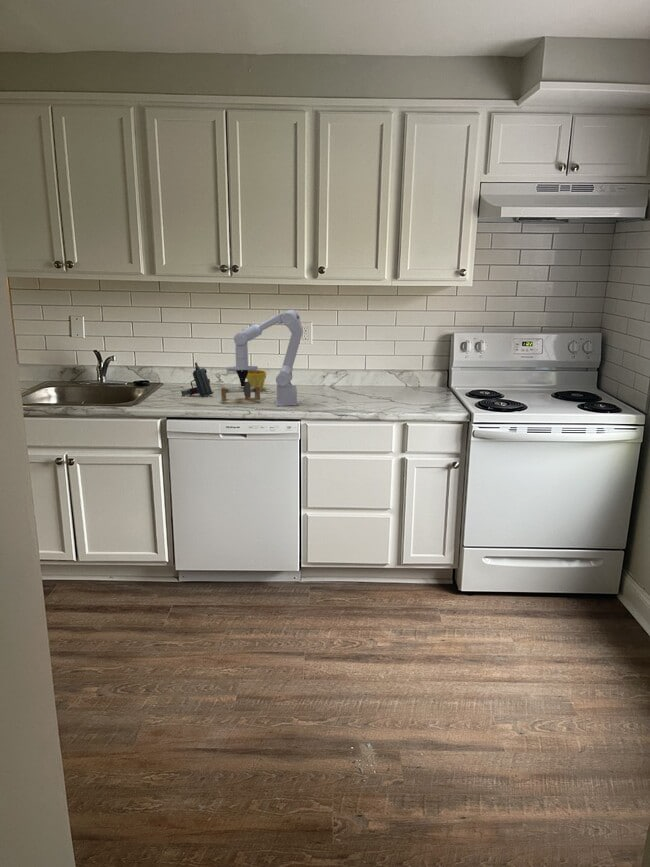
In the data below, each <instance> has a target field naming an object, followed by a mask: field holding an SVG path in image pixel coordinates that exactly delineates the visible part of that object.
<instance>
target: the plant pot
mask: <svg viewBox="0 0 650 867" xmlns="http://www.w3.org/2000/svg"><path fill="white" fill-rule="evenodd" d="M266 378H267V371H265V370H262V369H258V371H248V375H247V377H246V379H245V380H247V381H246V382H248V381H249V383H250V387H255V386H259V387H260V392H262V391H263V390H264V385H265V380H266Z"/></svg>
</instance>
